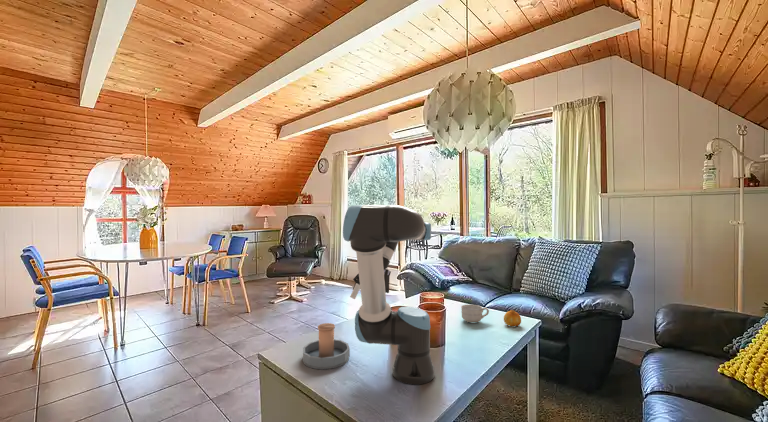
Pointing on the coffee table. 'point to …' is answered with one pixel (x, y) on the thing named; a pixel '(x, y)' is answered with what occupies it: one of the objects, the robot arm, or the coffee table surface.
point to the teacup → (473, 312)
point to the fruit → (512, 318)
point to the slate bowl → (317, 362)
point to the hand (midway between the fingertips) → (362, 302)
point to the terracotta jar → (326, 340)
